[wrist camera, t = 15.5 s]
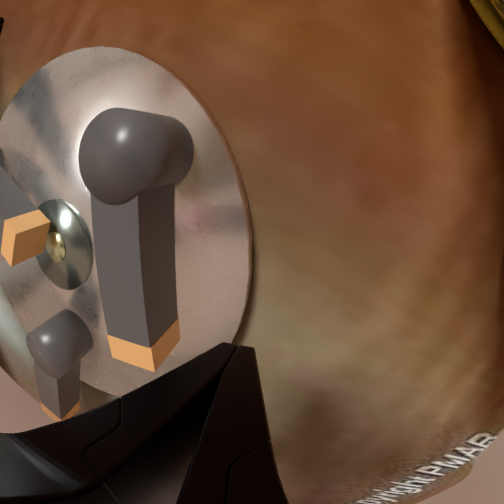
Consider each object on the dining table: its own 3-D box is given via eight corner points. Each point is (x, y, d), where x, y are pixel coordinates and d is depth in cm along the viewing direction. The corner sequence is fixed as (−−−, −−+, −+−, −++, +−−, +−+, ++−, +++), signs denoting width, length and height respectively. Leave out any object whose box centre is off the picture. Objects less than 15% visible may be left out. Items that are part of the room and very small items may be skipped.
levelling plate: (-8, 95, 16) (-21, 95, 15) (268, 20, 11) (261, 5, 10) (20, 339, 24) (10, 346, 23) (242, 427, 19) (236, 443, 18)
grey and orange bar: (59, 299, 18) (24, 322, 15) (95, 328, 18) (61, 356, 14) (59, 385, 22) (37, 406, 19) (87, 407, 22) (66, 431, 19)
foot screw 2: (130, 118, 13) (80, 113, 9) (196, 113, 12) (153, 102, 9) (138, 321, 16) (103, 355, 13) (194, 336, 16) (164, 376, 12)
